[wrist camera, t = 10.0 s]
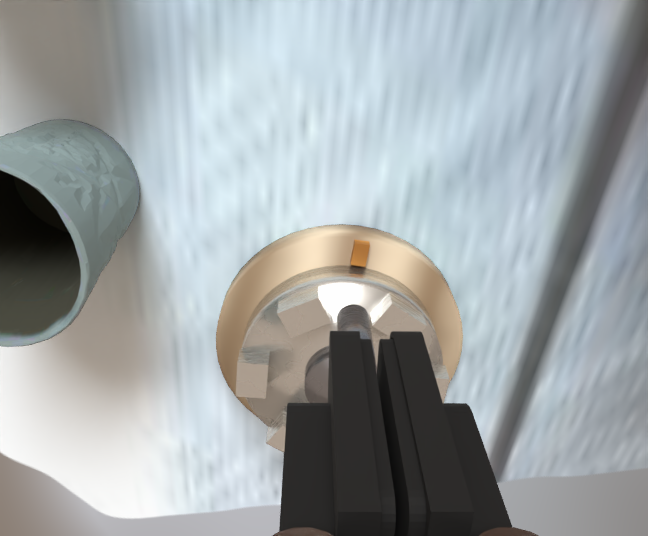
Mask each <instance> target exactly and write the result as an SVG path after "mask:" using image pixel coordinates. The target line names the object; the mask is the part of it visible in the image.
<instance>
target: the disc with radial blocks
mask: <svg viewBox="0 0 648 536" xmlns="http://www.w3.org/2000/svg"><path fill="white" fill-rule="evenodd" d="M330 331H359V332H360V338H361V339H371V341H372V347H373V354H374V361H375V367H376V374H377V362H378V348H379V340H380V339H390V333H391V331H421V332H422V334H423V337H424V340H425V343H426V347H427V350H428V354H429V357H430V361H431V364H432V368H433V371H434V374H435V378H436V381H437V385H438V388H439V392H440V395H441V399H442V402H443V403H444V399H445V395H446V392H447V388H448V384H449V380H450V379H449V376H448V372H447V369H446V366H445V365H443V357H442V351H441V347H440V344H439V341H438V338H437V335H436V332H435V329H434V326H433V323H432V320H431V317H430V315H429V313H428V311H427V309H426V307H425V306H424V305H423V303H422V302H421V300H420V299H419V298H418V297H417V296H416V295H415V294H414V293H413V292H412V291H411V290H410V289H409V288H408V287H406V286H405V285H404V284H402V283H401V282H399V281H398V280H396V279H394V278H392V277H391V276H388V275H386V274H384V273H381V272H379V271H375V270H372V269H368V268H364V267H357V266H343V265H337V266H325V267H320V268H315V269H311V270H308V271H305V272H302V273H299V274H297V275H295V276H293V277H291V278H288V279H287V280H285V281H283V282H282V283H280V284H279V285H277V286H276V287H275V288H273V289H272V290H271V291H270V292H269V293H267V294H266V296H265V297H264V298H263V299H262V300H261V301H260V302H259V303H258V305H257V306H256V308H255V309H254V311H253V312H252V315H251V317H250V319H249V321H248V323H247V327H246V330H245V334H244V339H243V344H242V349H240V351H239V356H238V362H237V379H236V396H237V397H245V398H246V400H247V402H248V404H249V405H250V407H251V409H252V410H253V411H254V413H255V414H256V415H257V416H258V417H259V418H260V419H261V420H262V421H263V422H264V423H265V424H266V425H267V426H268V429H267V439H266V443H267V444H269V445H271V446H272V447H274V448H276V449H278V450H280V451H282V452H284V448H285V432H286V416H287V404H288V403H328V372H329V336H330Z"/></svg>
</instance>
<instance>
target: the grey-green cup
mask: <svg viewBox="0 0 648 536" xmlns="http://www.w3.org/2000/svg"><path fill="white" fill-rule="evenodd" d="M139 196H140V195H139V183H138V178H137V174H136V171H135V168H134V166H133V164H132V162H131V160H130V158H129V157H128V155H127V154H126V152H125V151H124V149H123V148H122V147H121V146H120V145H119V144H118V143H117V142H116V141H115V140H114V139H113V138H111V137H110V136H109V135H107V134H106V133H104V132H103V131H101V130H99V129H97V128H95V127H93V126H91V125H88V124H85V123H83V122H78V121H72V120H50V121H45V122H41V123H38V124H35V125H32V126H30V127H27V128H24V129H22V130H20V131H18V132H15V133H11V134H6V135H5V136H1V137H0V346H3V347H13V346H26V345H32V344H35V343H38V342H42V341H45V340H47V339H50V338H52V337H53V336H55V335H57V334H59V333H60V332H62V331H63V330H64V329H65V328H66V327H68V326H69V325H70V324H71V323H72V322H73V321H74V319H75V318H76V317H77V316H78V314H79V313H80V311H81V309H82V307H83V306H84V304H85V302H86V300H87V298H88V296H89V295H90V293H91V291H92V289H93V287H94V285H95V284H96V282H97V279H98V277H99V275H100V273H101V272H102V270H103V269H104V267H105V266H106V265H107V264H108V262H109V261H110V258H111V256H112V253H114V251H115V248H116V245H117V241H118V239H120V238H121V237H122V236H123V235H124V233H125V232H126V230H127V228H128V226H129V225H130V223H131V221H132V219H133V217H134V215H135V213H136V210H137V208H138V203H139Z"/></svg>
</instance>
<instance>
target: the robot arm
mask: <svg viewBox="0 0 648 536" xmlns="http://www.w3.org/2000/svg"><path fill="white" fill-rule="evenodd" d="M273 536H538V535H536V534H534V533H532V532H530V531H526V530H522V529H518V528H514V527H512V525H511V522H510V519H509V516H508V514H507V511H506V508H505V505H504V502H503V499H502V496H501V493H500V491H499V488H498V485H497V482H496V479H495V476H494V473H493V471H492V468H491V465H490V462H489V459H488V456H487V453H486V451H485V448H484V445H483V442H482V439H481V436H480V433H479V431H478V428H477V425H476V422H475V419H474V416H473V413H472V411H471V409H470V407H469V406H468V405H467V404H457V403H443V402H442V399H441V395H440V392H439V388H438V385H437V381H436V378H435V374H434V371H433V368H432V364H431V361H430V357H429V354H428V350H427V347H426V343H425V340H424V337H423V334H422V332H421V331H391V333H390V339H380V340H379V348H378V362H377V374H376V367H375V361H374V354H373V347H372V341H371V339H361V338H360V332H359V331H330V336H329V372H328V403H288V404H287V416H286V432H285V448H284V465H283V481H282V498H281V515H280V531H279V532H278V533H276V534H274V535H273Z"/></svg>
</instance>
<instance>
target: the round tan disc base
mask: <svg viewBox="0 0 648 536" xmlns="http://www.w3.org/2000/svg"><path fill="white" fill-rule="evenodd" d="M337 265H343V266H357V267H364V268H368V269H372V270H375V271H379V272H381V273H384V274H386V275H388V276H391V277H392V278H394V279H396V280H398V281H399V282H401V283H402V284H404V285H405V286H406V287H408V288H409V289H410V290H411V291H412V292H413V293H414V294H415V295H416V296H417V297H418V298H419V299H420V300H421V302H422V303H423V305H424V306H425V307H426V309H427V311H428V313H429V315H430V317H431V320H432V323H433V326H434V329H435V332H436V335H437V338H438V341H439V344H440V347H441V351H442V357H443V365H445V366H446V369H447V372H448V376H449V379H450V380H449V382H450V381H451V379H452V377H453V375H454V373H455V371H456V368H457V366H458V363H459V359H460V355H461V351H462V339H463V333H462V322H461V318H460V314H459V310H458V307H457V305H456V302H455V300H454V298H453V295H452V293H451V291H450V288H449V286H448V284H447V282H446V280H445V278H444V277H443V275H442V274H441V272H440V270H439V269H438V268H437V267H436V266H435V265H434V263H433V262H432V261H431V260H430V259H429V258H428V257H427V256H426V255H424V254H423V253H422V252H421V251H420V250H419V249H417V248H416V247H414V246H413V245H411V244H410V243H408V242H407V241H405V240H403V239H401V238H399V237H396V236H394V235H392V234H390V233H387V232H384V231H381V230H378V229H374V228H369V227H363V226H357V225H343V224H342V225H324V226H318V227H313V228H308V229H304V230H301V231H298V232H294V233H291V234H289V235H287V236H285V237H282V238H280V239H278V240H276V241H274V242H273V243H271V244H270V245H268V246H266V247H265V248H263V249H262V250H261V251H259V252H258V253H257V254H256V255H254V256H253V257H252V258H251V259H250V260H249V261H248V262H247V263H246V264H245V265H244V266H243V267H242V268H241V270H240V271H239V273H238V274H237V275H236V277H235V278H234V280H233V281H232V283H231V285H230V287H229V289H228V291H227V293H226V296H225V299H224V302H223V305H222V309H221V313H220V316H219V320H218V326H217V332H216V350H217V356H218V362H219V365H220V368H221V371H222V374H223V376H224V378H225V380H226V382H227V384H228V386H229V387H230V389H231V390H232V392H233V393H234V394H235V396H236V379H237V362H238V356H239V351H240V349H242V344H243V339H244V334H245V330H246V327H247V323H248V321H249V319H250V317H251V315H252V312H253V311H254V309H255V308H256V306H257V305H258V303H259V302H260V301H261V300H262V299H263V298H264V297H265V296H266V294H267V293H269V292H270V291H271V290H272V289H273V288H275V287H276V286H277V285H279V284H280V283H282V282H283V281H285V280H287V279H288V278H291V277H293V276H295V275H297V274H299V273H302V272H305V271H308V270H311V269H315V268H320V267H325V266H337ZM236 397H237V396H236ZM237 398H238V399H239V400H240V401H241V403H242V404H243V405H244V406H245V407H246V408H247V409H249V410H250V411H251V412H252V413H253V414H255V413H254V411H253V410H252V409H251V407H250V405H249V404H248V402H247V400H246V398H245V397H237ZM255 415H256V414H255ZM256 416H257V415H256ZM257 417H258V416H257Z"/></svg>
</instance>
